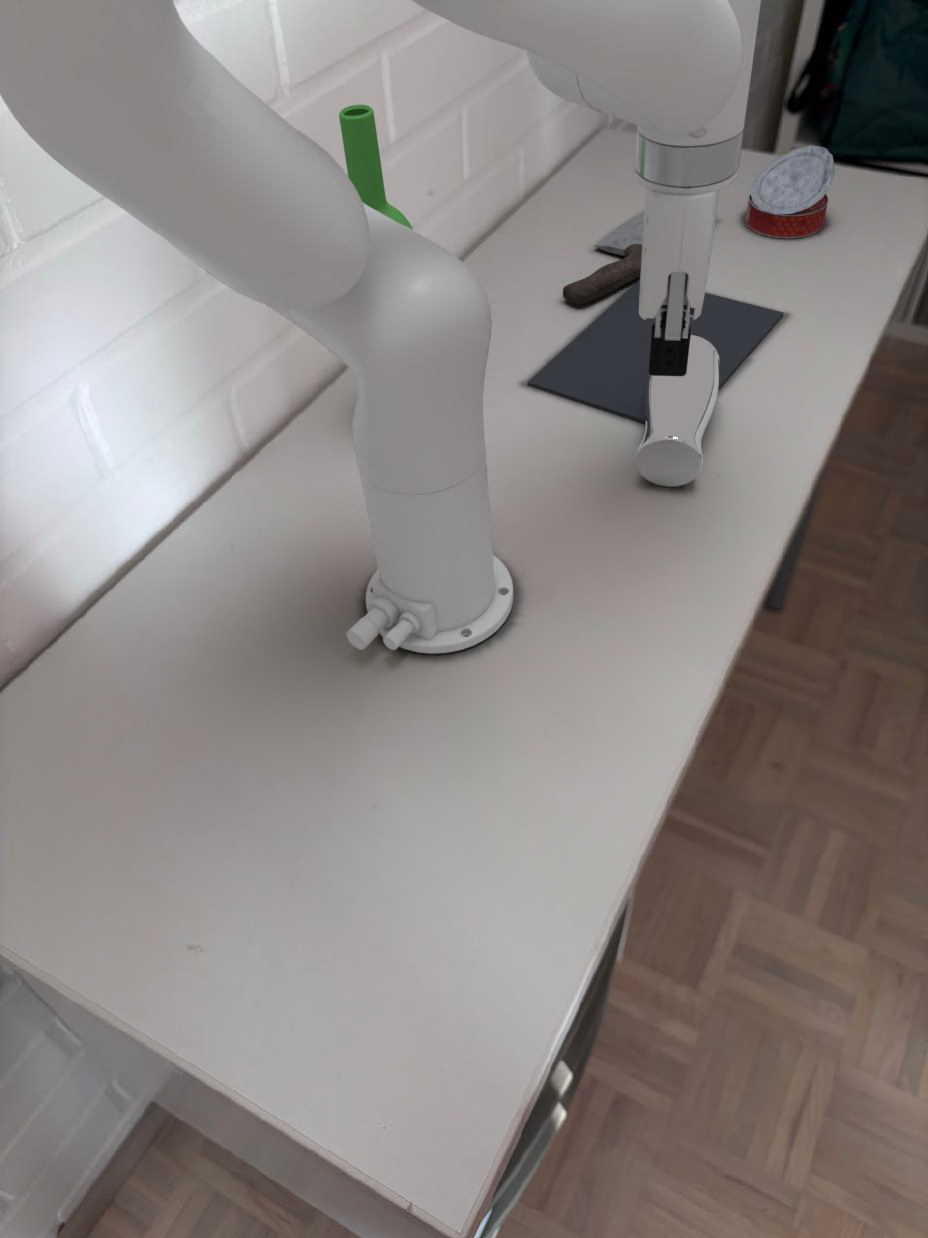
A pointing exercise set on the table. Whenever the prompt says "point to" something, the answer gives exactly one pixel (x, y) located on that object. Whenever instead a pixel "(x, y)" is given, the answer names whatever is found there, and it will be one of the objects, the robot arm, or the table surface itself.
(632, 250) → the cleaver
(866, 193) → the table surface
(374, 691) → the table surface
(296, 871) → the table surface
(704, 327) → the mat
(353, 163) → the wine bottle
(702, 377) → the beer glass
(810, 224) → the canned food
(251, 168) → the robot arm
